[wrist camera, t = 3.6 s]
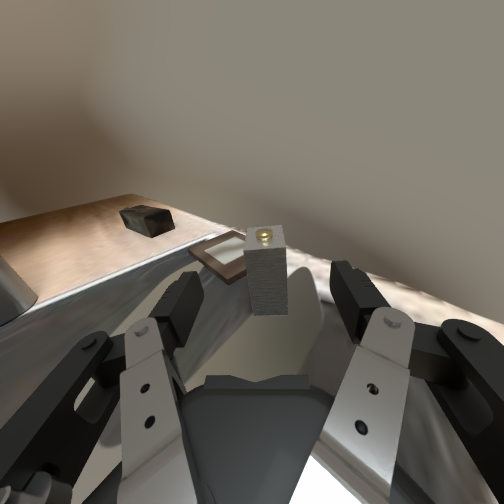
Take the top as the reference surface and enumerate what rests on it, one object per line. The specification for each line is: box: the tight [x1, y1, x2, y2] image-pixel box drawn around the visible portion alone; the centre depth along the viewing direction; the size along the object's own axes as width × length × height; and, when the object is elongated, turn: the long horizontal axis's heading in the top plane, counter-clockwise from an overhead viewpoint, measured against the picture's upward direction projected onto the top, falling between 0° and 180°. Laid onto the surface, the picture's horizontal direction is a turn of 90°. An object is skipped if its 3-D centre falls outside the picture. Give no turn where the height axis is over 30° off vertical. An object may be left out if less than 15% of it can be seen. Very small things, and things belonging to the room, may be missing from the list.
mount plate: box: [188, 230, 247, 285], centre depth 40 cm, size 16×12×1 cm
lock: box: [243, 225, 288, 316], centre depth 25 cm, size 4×6×11 cm
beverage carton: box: [119, 205, 175, 238], centre depth 60 cm, size 8×19×7 cm, turn 51°
